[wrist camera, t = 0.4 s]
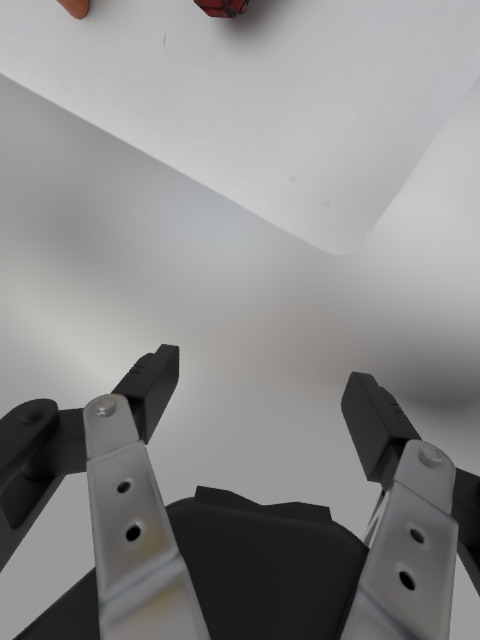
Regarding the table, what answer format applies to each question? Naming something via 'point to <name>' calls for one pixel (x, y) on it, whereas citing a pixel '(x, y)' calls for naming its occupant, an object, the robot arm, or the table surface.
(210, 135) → the table surface
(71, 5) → the orange and grey cylinder
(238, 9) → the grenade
